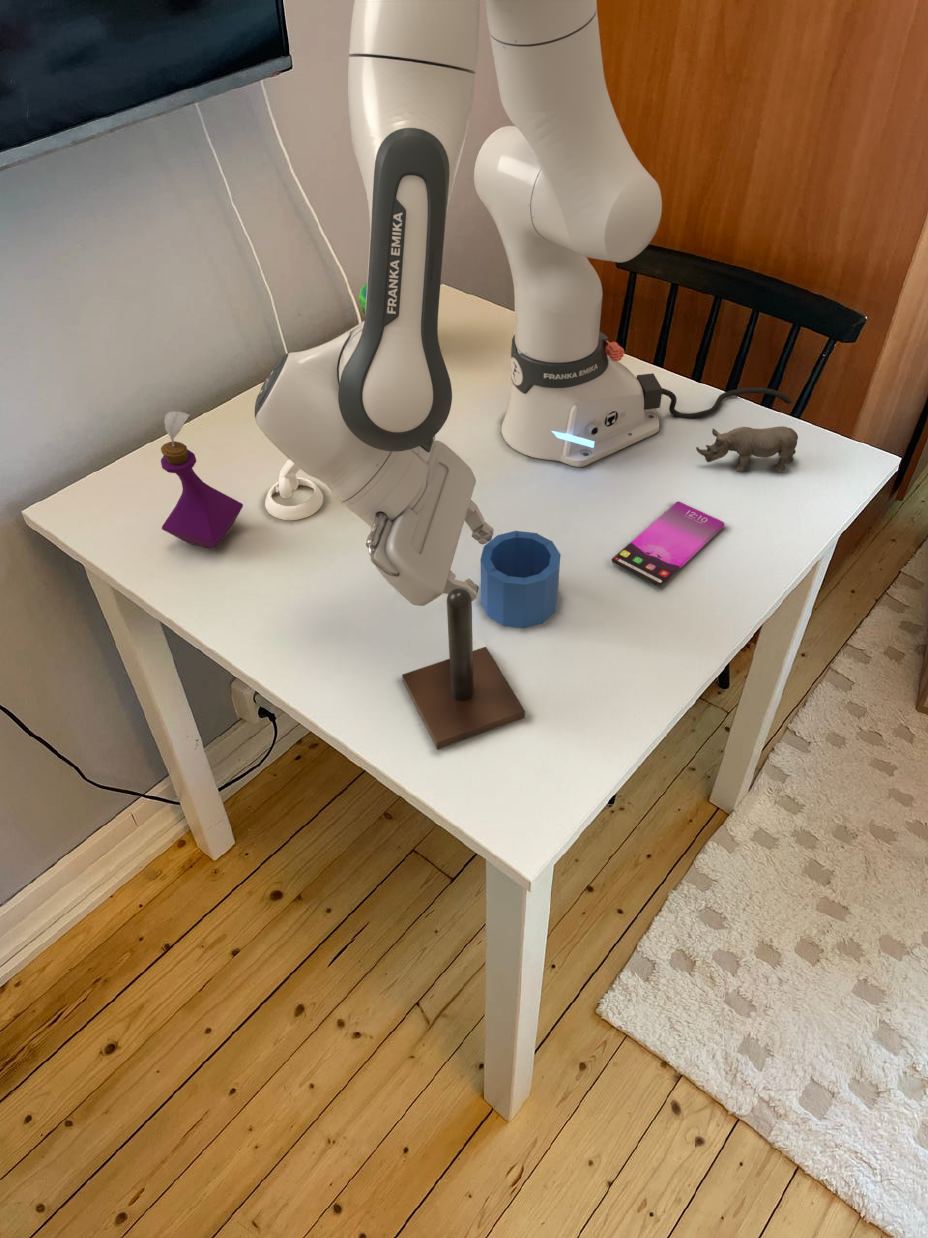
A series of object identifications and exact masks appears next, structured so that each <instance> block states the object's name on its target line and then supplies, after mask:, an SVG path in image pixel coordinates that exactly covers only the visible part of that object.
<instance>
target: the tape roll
mask: <svg viewBox="0 0 928 1238" xmlns="http://www.w3.org/2000/svg"><path fill="white" fill-rule="evenodd" d="M561 557H562V556H561V553H560V551H559V550H558V548H557V547H556V545H555V543H554V541H552V540H551V539H549V538H546V537H545V536H543V535H541V534H539V533H538V532H530V531H522V530H513V531H509V532H505V533H501V534H497V535H495V537H492V539H491V541H489V542H487V543H486V544H484V546H483V548H482V552H481V555H480V559H479V560H480V561H479V562H480V563H479V564H480V605H481V607H482V608H483V610H484V612H485V614H486V616H487V617H488V618H489V619H491V620H493V621H494V622H496V623H497V624H499V625H501V626H503V627H508V628H515V629H527V628H531V627H534V626H538V625H543V624H544V623H545V622H546V621H547V620H549V618H550V617H551V616H553V615H554V614H555V613H556V610H557V604H558V600H559V599H558V598H559V584H560V570H561Z"/></svg>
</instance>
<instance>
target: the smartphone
mask: <svg viewBox="0 0 928 1238" xmlns="http://www.w3.org/2000/svg"><path fill="white" fill-rule="evenodd" d="M724 527H725V522H724V521H722V520H720V519H718V518H716V517H714V516H711V515H710V514H707V513H705V512H703V511H700V510H698V509H696V508H694V507H692V506H690V505H688V504H686V503H683V502H681V501H675V502H674V503H673V504H672V505H671V506H670V507H669V508H668V509H667V510H665V511H664V512H663V513H662V514H661V515H660V516H659V517H657V518H656V519H655V520H654V521H653V522H652V523H651V524H650V525H649V526H647V527H646V528H645V529H644V530H642V532H640V533H639V534H638V535H637V536H636V537H635V538H634V539H632V540H631V541H630V542H629V543H627V545H625V546H624V547H623V548H622V549H621V550H620V551H619V552H618V553H617V554H615V555H614V556H613V557H612V558H611V562H612V564H614V565H616V566H619V567H621V568H623V569H625V570H626V571H628V572H631V573H632V574H633V575H636V576H638V577H640V578H642V579H644V580H645V581H648V582H650V583H651V584H653V585H654V586H657V587H662V586H664V584H665V583H667V582H668V581H669V580H670V579H671V578H672V577H673V576H674V575H675V574H676V573H677V572H678V571H680V570H681V568H683V566H685V564H687V563H688V561H690V560H691V559H692V558H693V557H694V556H696V554H697V553H698V552H699V551H700V550H702V549H703V547H705V546H706V545H707V544H708V543H709V542H710V541H711V540H712V539H713V538H714V537H715V536H716V535H718V533H719V532H720V531H721V530H723V528H724Z"/></svg>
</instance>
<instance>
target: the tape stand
mask: <svg viewBox="0 0 928 1238" xmlns="http://www.w3.org/2000/svg"><path fill="white" fill-rule="evenodd" d="M446 615H447V636H448V657H449V658H447V659H445V660H441V661H438V662H435V663H432V664H429V665H427V666H424V667H421V668H418V669H415V670H412V671H409V672H405V673H403V674H401V678H402V683H403V685H404V688H405V689H406V691H407V693H408V695H409V697H410V699H411V701H412V703H413V705H414V707H415V710H416V712H417V713H418V715H419V717H420V719H421V721H422V723H423V725H424V727H425V729H426V731H427V732H428V734H429V736H430V738H431V741H432V742H433V744H434V747H435V749H436V750H439V749H443V748H446V747H447V746H450V745H453V744H456V743H459V742H462V741H464V740H468V739H470V738H473V737H476V736H479V735H481V734H483V733H487V732H489V731H492V730H495V729H498V728H501V727H503V726H506V725H508V724H511V723H514V722H517V721H520V720H523V719H525V718H526V710H525V708H524V706H523V705H522V703H521V702H520V699H519V698H518V697H517V695H516V694H515V692H514V690H513V689H512V687H511V686H510V684H509V682H508V681H507V679H506V677H505V676H504V674H503V672H502V671H501V669H500V667H499V666H498V664H497V662H496V660H495V659H494V658H493V655H492V654H491V653H490V651H489V649H488V648H487V646H484V647H481V648H477V649H473V648H474V646H473V645H474V643H473V639H474V638H473V601H472V599H471V595H470V594H469V592H468V591H467V590H465V589H462V588H456V589H453V590H452V591H451V592H450V593H449V594H447V597H446Z"/></svg>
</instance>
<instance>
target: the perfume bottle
mask: <svg viewBox="0 0 928 1238" xmlns="http://www.w3.org/2000/svg"><path fill="white" fill-rule="evenodd" d="M192 419H193V418H192V415H191V414H189V413H186V412H184V411H176V410H175V411H174V410H171V411H168V412H167V413H166V415H165V416H164V420H163V421H164V429H165V431H166V433H167V434H168V436H169V438H170V441H168V442H166V443H164V444H162V446H161V447H160V452H161V454H162V457H161V459H160V465H161V469H162V470H164V471H166V472H167V473H169V474H175V475H177V476H178V478H179V480H180V482H181V486H182V487H181V488H182V491H181V495H180V496H179V498H178V500H177V502H176V504H175V506H174V508H173V509H172V511H170V514H169V515H168V516H167V518H166V519H165V521H164V523H163V524H162V525H161V529H162V530H163V531H165V532H166V533H168V534H170V535H172V536H174V537H176V538H177V539H179V540H181V541H182V542H185V543H186V544H190V545H193V546H194V545H195V546H199V547H203V548H207V549H211V550H215V549H216V548H217V547H218V546H219V545H220V543H221V542H222V541H223V539H224V538H225V537H226V536H227V534H228V533H230V531H231V530H232V527H233V526H234V524H235V522H236V520H237V519H238V516H239V515H240V513H241V511H242V509H243V507H244V504H243V503H242V502H240V501H238V500H236V499H235V498H233V497H231V496H229V495H227V494H225V493H223V492H222V491H219V490H218V489H216V488H214V487H212V486H211V485H209V484H207V483H206V482H204V481H203V480H202V479H201V478H200V476H198V475H197V473H196V472H195V471H194V470H193V469H194V467H195V465H196V463H197V458H196V454H195V453H194V452H192V451H191V450H190V449H188V446H187V445H185V444H184V443H182V442H180V441H174V439H175V438H176V437H177V436H178V434H179V433H180V432H181V430H182V429H183V427H184V425H185V423H186V422H187V423H190V422H191V421H192Z"/></svg>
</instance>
